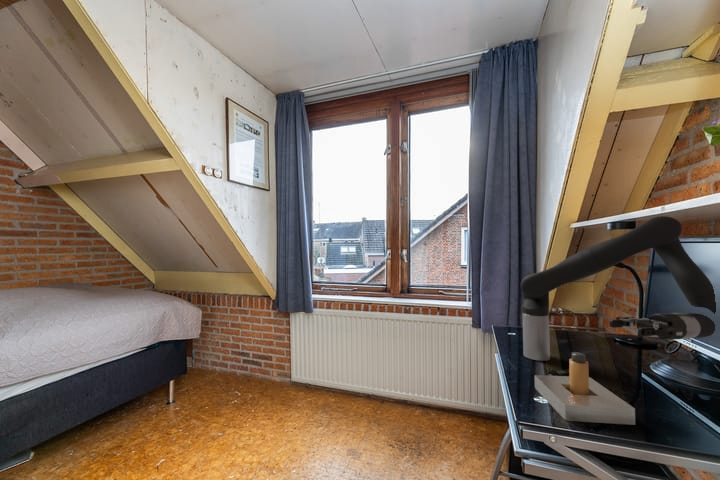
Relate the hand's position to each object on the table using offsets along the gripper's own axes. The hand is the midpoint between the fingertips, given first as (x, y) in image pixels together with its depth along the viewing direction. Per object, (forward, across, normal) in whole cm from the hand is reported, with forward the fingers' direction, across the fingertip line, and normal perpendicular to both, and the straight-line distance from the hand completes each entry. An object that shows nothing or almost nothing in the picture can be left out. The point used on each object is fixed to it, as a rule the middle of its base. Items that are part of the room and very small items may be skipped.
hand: (624, 327), depth 87 cm
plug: (+15, +1, +21) cm, 26 cm away
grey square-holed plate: (+15, +1, +21) cm, 26 cm away
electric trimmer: (+5, -16, +22) cm, 27 cm away
